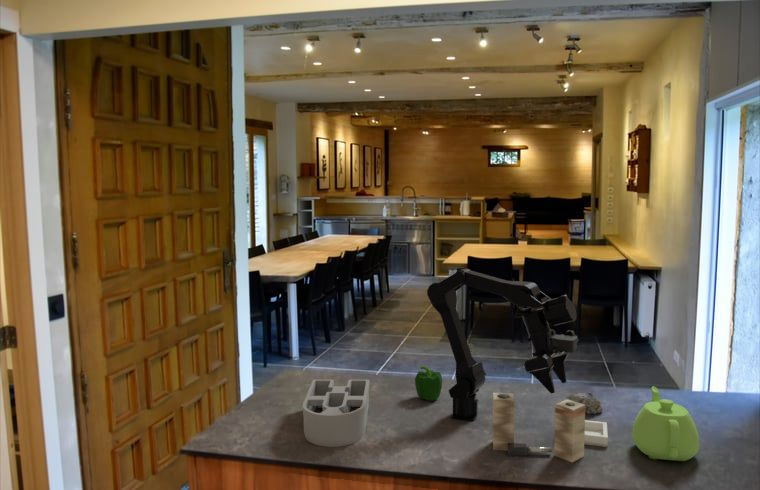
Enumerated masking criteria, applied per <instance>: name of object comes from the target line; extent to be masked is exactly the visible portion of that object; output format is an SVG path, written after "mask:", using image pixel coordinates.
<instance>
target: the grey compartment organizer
mask: <svg viewBox="0 0 760 490" xmlns="http://www.w3.org/2000/svg"><path fill="white" fill-rule="evenodd" d="M334 382H335V380H334V379H313V380H312V382H311V383H310V385H309V389H308V391H307V393H306V396H305V398H304V400H303V402H302V415H303V433H304V436H305V439H306V441H308V442H309V443H311V444H313V445H316V446H319V447H329V448H330V447H332V448H335V447H345V446H348V445H353V444H355V443H357V442H359V441H360V440H362V439H363V438H364V436H365V432H366V429H367V428H366V426H367V421H368V413H369V407H370V379H348V380H347V385H345V386H344V385H341V386H340V385H337V386H336V385H335V383H334ZM351 407H352V408H351ZM353 407H360V408H356V409H355V410H352V409H354V408H353ZM317 408H318V409H322V411H321V412H315V411H316V409H317ZM351 410H352V411H351ZM350 411H351V412H350Z"/></svg>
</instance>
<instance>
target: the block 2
mask: <svg viewBox="0 0 760 490" xmlns="http://www.w3.org/2000/svg"><path fill="white" fill-rule="evenodd" d="M566 399H567V398H566ZM566 399H565V400H562V401H560V402H557V403H555V404H554V405H555V406H554V441H553V442H554V443H553V444H554V447H553V448H554V449H553V450H554V451H553V454H554V455H553V456H554V457H557V458H559V459H561V460H565V461H566V462H570V463H574V462H577V461H578V460H581V459H582V458H583V457H585V444H584V437H585V420H586V413H587V412H586V408H585V404H581V403H578V402H575V401H572V400H568V399H567V400H566Z"/></svg>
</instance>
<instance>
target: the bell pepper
mask: <svg viewBox="0 0 760 490" xmlns="http://www.w3.org/2000/svg"><path fill="white" fill-rule="evenodd" d="M419 368H420V370H424V371H425V372H424V371H418V372H417V373H416V376H415V378H414V385H415V389H416V393H417V397H418V398H419V399H422V400H425V401H427V402H429V401H432V402H433V401H436V400H438V398H439V397H440V394H441V391H442V387H443V377H442V374H441V371H434V370H431V369H430V368H429V367H428V366H426V365H420V367H419Z"/></svg>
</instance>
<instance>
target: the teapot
mask: <svg viewBox="0 0 760 490" xmlns="http://www.w3.org/2000/svg"><path fill="white" fill-rule="evenodd" d="M659 391H660V390H659V389H658V387H656V386H651V394H652V395H651V401H649V402H646V403H645V404H644V405H643V406H642V407H641V409H640V411H638V414H637V416H636V417H635V419H634V422H633V425H632V428H631V429H632V430H631V438H632V440H633V442H634V444H635V446H636V447H637V449H639V451H640V452H642V454H645V455H647V457H648V458H649V459H653V460H667V461H678V462H679V461H680V462H686V461H688V460H690V459H692V458H693V457H694V456H696V454H697V453H698V452H699V450H700V437H699V432H698V429H697V427H696V423H695V422H694V420H693V418H692V416H691V414H690V413H689V411H688V409H686V408H685V407H684V406H682V405H680V404H677V403H674V401H673V400H671V399H666V398H665V399H664V398H663V399H661V396H660V392H659Z"/></svg>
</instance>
